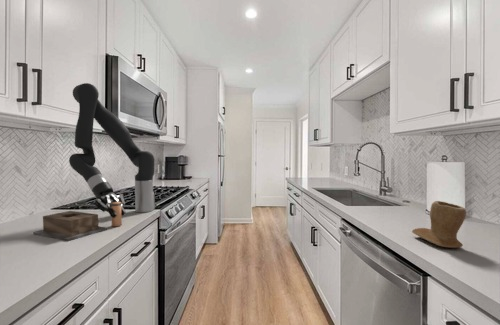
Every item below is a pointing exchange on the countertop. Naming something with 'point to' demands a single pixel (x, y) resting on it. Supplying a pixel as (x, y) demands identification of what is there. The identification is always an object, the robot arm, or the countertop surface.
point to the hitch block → (70, 225)
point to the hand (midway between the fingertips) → (119, 215)
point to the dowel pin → (118, 219)
